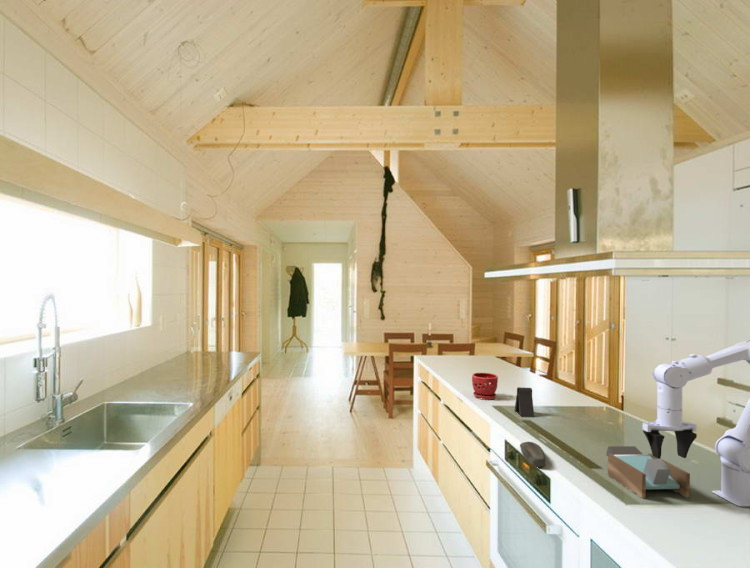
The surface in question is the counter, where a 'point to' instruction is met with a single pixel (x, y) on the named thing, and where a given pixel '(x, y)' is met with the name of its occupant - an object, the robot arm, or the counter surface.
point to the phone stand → (524, 402)
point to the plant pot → (484, 385)
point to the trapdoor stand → (644, 476)
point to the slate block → (656, 471)
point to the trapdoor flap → (639, 464)
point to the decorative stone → (533, 453)
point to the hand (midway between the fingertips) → (669, 456)
